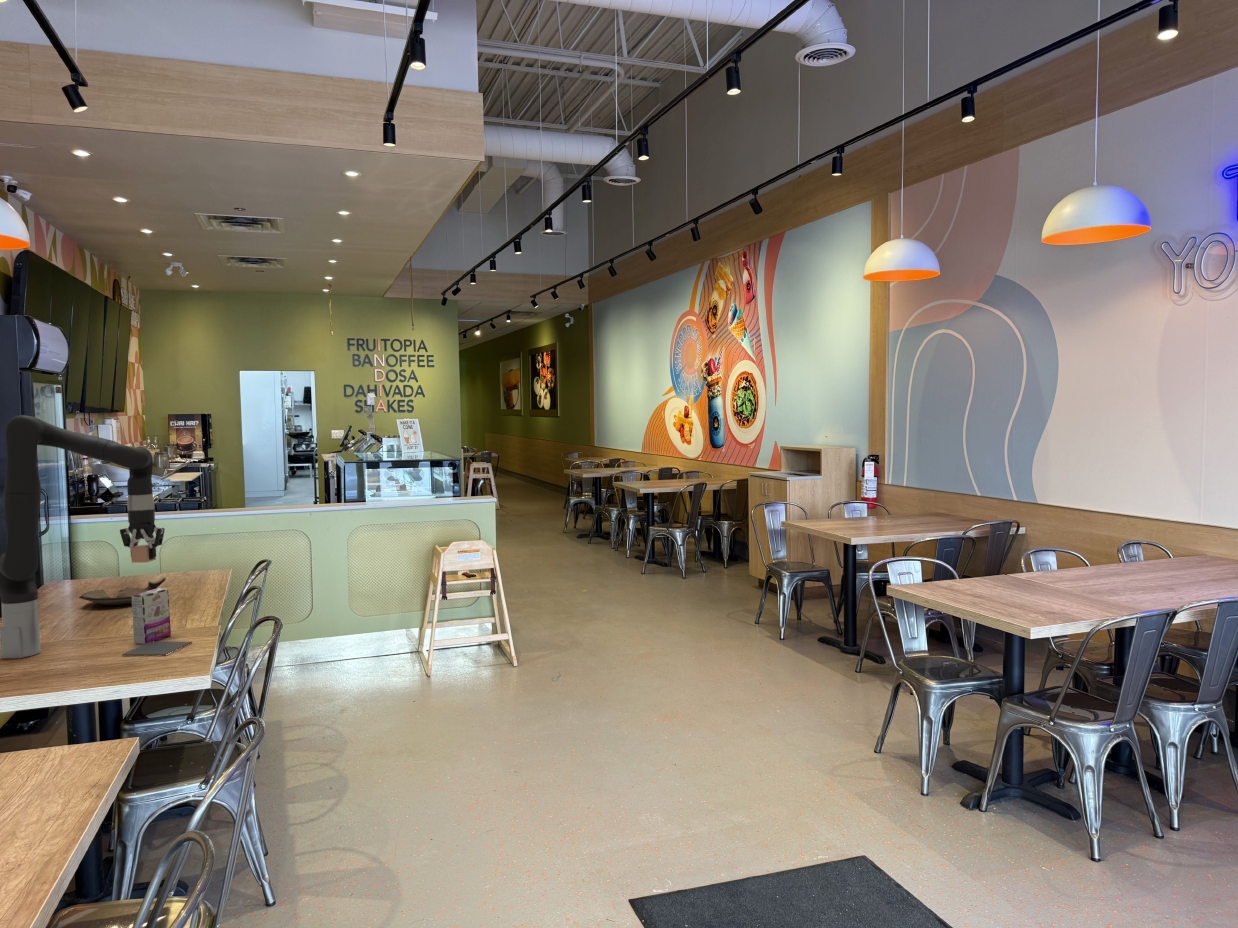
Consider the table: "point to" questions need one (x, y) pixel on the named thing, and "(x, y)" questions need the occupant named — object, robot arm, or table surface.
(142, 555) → the letter cube
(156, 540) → the robot arm
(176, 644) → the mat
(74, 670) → the table surface
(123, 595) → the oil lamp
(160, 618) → the candy bar box
